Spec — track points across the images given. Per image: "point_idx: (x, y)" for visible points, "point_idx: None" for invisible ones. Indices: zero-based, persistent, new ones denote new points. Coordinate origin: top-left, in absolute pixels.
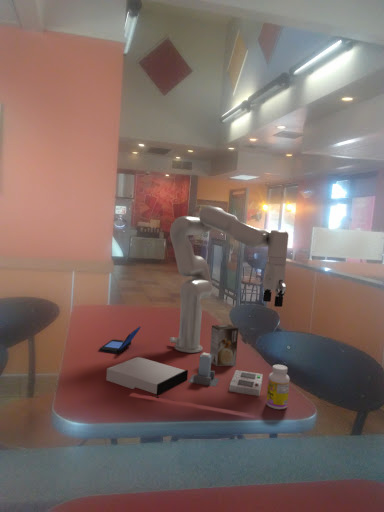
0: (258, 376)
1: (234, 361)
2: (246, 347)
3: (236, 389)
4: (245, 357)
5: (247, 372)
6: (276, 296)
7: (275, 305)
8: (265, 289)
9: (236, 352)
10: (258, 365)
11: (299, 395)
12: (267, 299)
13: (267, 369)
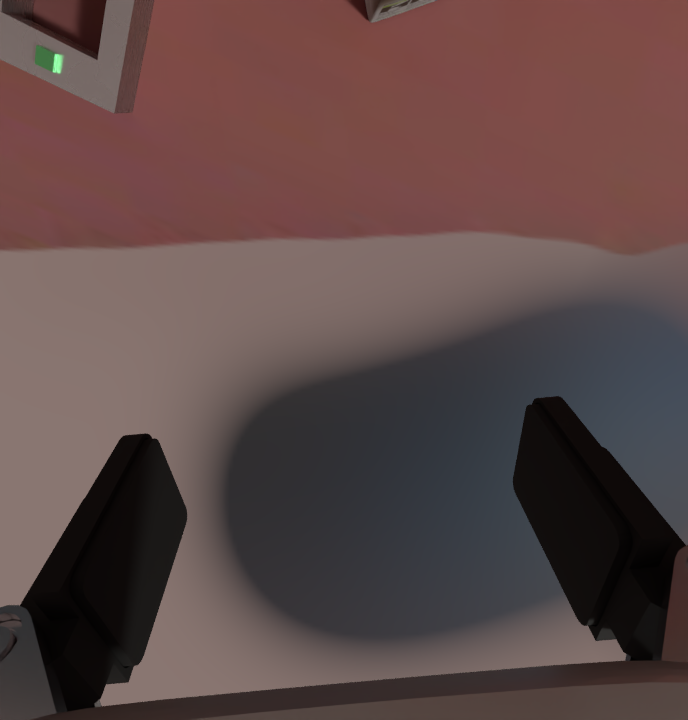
0: (38, 54)
1: (369, 1)
2: (674, 232)
3: None
4: (518, 161)
5: (118, 5)
6: (37, 603)
7: (120, 448)
8: (674, 618)
9: (379, 1)
10: (384, 192)
11: (5, 243)
12: (531, 467)
13: (324, 220)
